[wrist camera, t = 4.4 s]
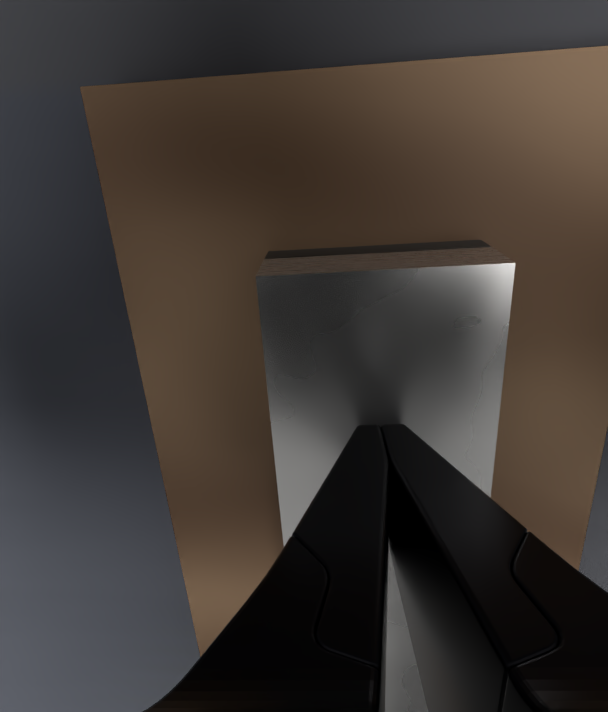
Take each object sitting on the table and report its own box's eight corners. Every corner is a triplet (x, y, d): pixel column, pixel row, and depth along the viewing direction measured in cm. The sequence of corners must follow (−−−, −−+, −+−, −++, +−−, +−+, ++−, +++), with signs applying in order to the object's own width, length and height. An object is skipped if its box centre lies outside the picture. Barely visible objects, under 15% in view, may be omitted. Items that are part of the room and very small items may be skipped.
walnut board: (519, 725, 17) (560, 849, 14) (232, 723, 18) (213, 842, 15) (633, 54, 9) (779, 13, 6) (113, 94, 10) (21, 75, 7)
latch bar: (454, 748, 15) (466, 806, 13) (304, 746, 15) (302, 804, 14) (501, 245, 9) (531, 263, 8) (253, 257, 9) (241, 278, 8)
